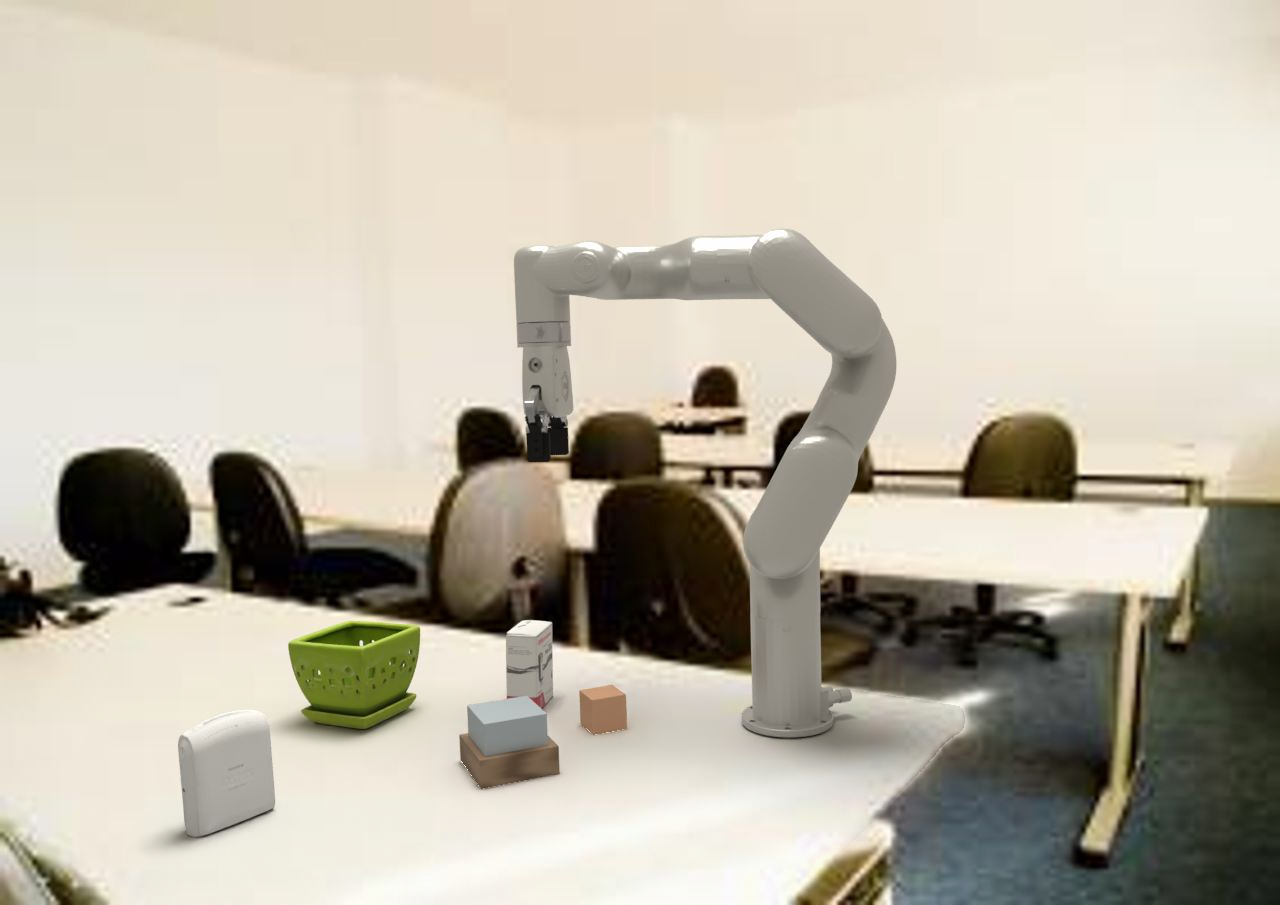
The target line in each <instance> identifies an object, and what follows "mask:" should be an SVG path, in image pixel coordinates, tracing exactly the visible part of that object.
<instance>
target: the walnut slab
mask: <svg viewBox="0 0 1280 905" xmlns="http://www.w3.org/2000/svg"><path fill="white" fill-rule="evenodd" d="M559 748H560V747H559V745H558V744H557V743H556V742H555V741H554V740H553V739H552V737H550V736H549V735H548V745H546V746H540V747H535V748H529V749H524V750H518V751H513V752H507V753H502V754H496V755H490V756H485V755H484V754H483V753H482V752H481V751H480V749H479V748H478V747H477V746H476V744H475V743H474V742H473V741H472V739H471V738H470V737H469V736H468V732H466V733H461V734H459V756H460V757H459V759H460V762H461V761H462V762H463V764H464V765H465V766H466V768H467V769H468V771H469V772H470V773H469V772H468V771H467V772H468V773H469V775H470V774H471V775H472V776H471V775H470V776H471V777H472V779H473V778H474V779H475V780H474V779H473V780H474V781H476V782H477V783H478V784H477V783H476V782H475V783H476V784H477V785H479V786H478V787H479V788H480V790H484V789H483V788H485V789H489V788H488V787H490V788H495V787H499V786H498V785H500V786H504V785H503V784H505V785H509V784H508V783H511V784H515V783H514V782H516V783H520V782H519V781H521V782H525V781H524V780H526V781H530V779H531V780H535V779H541V778H546V777H549V776H556V775H560V774H561V772H560V770H561V768H560V749H559ZM463 764H462V765H463ZM464 765H463V766H464ZM466 768H465V769H466ZM467 769H466V770H467ZM494 786H495V787H494Z"/></svg>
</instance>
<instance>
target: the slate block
mask: <svg viewBox="0 0 1280 905" xmlns="http://www.w3.org/2000/svg"><path fill="white" fill-rule="evenodd" d="M466 709H467V710H466V713H467V715H466V716H467V733H468V736H469V737H470V738H471V739H472V741H473V742H474V743H475V744H476V746H477V747H478V748H479V749H480V751H481V752H482V753H483V754H484V755H485V756H490V755H496V754H502V753H507V752H513V751H518V750H524V749H529V748H535V747H540V746H546V745H548V736H549V734H548V715H547V714H548V713H547V712H545V711H544V710H543V708H542V709H541V708H540V707H539V706H538V705H537V704H536V703H535V702H533V701H532V700H531V699H530V698H529V697H528V696H522V697H516V698H509V699H507V698H503V699H498V700H492V701H485V702H479V703H472V704H467V707H466Z"/></svg>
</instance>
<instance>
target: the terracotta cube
mask: <svg viewBox="0 0 1280 905" xmlns="http://www.w3.org/2000/svg"><path fill="white" fill-rule="evenodd" d="M578 692H579V694H578V695H579V716H580V725H581V724H582V725H583V726H584V727H585V728H587V729H588V730H589V731H590V732H591V733H592V734H593V735H592V734H591V733H590V732H589V731H588V730H587V729H586V730H587V731H588V732H589V733H590V734H591V735H592V736H596V735H595V734H599V735H603V734H602V733H604V734H607V733H606V732H610V733H613V732H612V731H615V732H618V731H617V730H621V731H623V730H622V729H626V728H627V729H628V716H627V715H628V714H627V713H628V712H627V711H628V710H627V694H626V693H625V692H624V691H622V690H621V689H619V688H618V687H616V686H615V685H613V684H610V685H609V684H608V685H604V686H603V685H602V686H597V687H596V686H595V687H591V688H585V689H579V690H578ZM582 725H581V726H582ZM583 726H582V727H583ZM584 727H583V728H584ZM585 728H584V729H585ZM627 729H626V730H627Z"/></svg>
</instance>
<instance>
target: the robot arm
mask: <svg viewBox="0 0 1280 905" xmlns="http://www.w3.org/2000/svg"><path fill="white" fill-rule="evenodd" d="M513 256H514V257H513V272H514V273H513V275H514V279H513V280H514V297H515V298H514V300H515V318H516V319H515V320H516V324H515V325H516V344H517V348H522V360H521V361H522V362H521V363H522V367H521V370H522V372H521V374H522V375H521V378H522V379H521V382H522V387H521V388H522V390H521V391H522V392H521V393H522V407H523V408H522V409H523V413H524V415H525V417H524V419H525V420H524V421H525V422H526V423H525V433H526V434H525V437H526V438H525V440H526V460H527V462H528V463H549V462H551V460H552V456H567V455H569V454H570V447H569V446H570V445H569V444H570V442H569V426H568V425H569V421H568V420H569V419H568V417H567V416H570V415H571V414H572V413H573V412H574V397H573V385H572V371H571V364H570V355H569V349H568V347H571V346H572V333H571V331H572V330H571V308H570V307H571V305H570V303H571V302H570V300H571V299H570V296H580V297H586V298H590V299H591V298H593V299H598V300H603V301H604V300H605V301H606V300H607V301H609V300H610V301H614V300H615V301H620V300H621V301H622V300H665V299H666V300H681V301H707V300H708V301H713V300H717V301H718V300H720V301H721V300H771V301H772V302H773V303H774V304H776V306H778V308H780V310H782V311H783V312H784V313H785V314H786V315H787V316H788V317H789V318H791V319H792V320H793V322H795V323H796V324H797V325H798V326H799V327H800V328H801V329H803V330H804V331H805V332H806V333H807V334H808V335H809V336H810V337H811V338H812V339H813V340H814V341H816V342H817V343H818V344H819V346H820V347H822V348H823V349H824V350H825V351H827V353H830V354H831V370H830V373H829V375H828V378H827V379H826V382H825V383H824V386H822V389H821V391H820V393H819V395H818V398H817V400H816V402H815V404H814V405H813V407H812V410H811V411H810V414H809V415H808V416H807V419H806V420H805V422H804V423H803V426H802V428H800V431H799V432H798V433H797V435H796V436H795V437H793V439H792V441H790V444H789V445H788V446H787V448H786V450H785V452H784V454H783V456H782V457H781V459H780V461H779V463H778V465H777V467H776V470H775V471H774V473H773V475H772V477H771V479H770V481H769V483H768V484H767V485H766V486H767V487H766V488H765V490H764V492H763V494H762V496H761V498H760V500H759V502H758V503H757V505H756V508H755V509H754V510H753V511H752V513H751V515H750V517H749V519H748V522H747V524H746V526H745V528H744V531H743V540H742V545H743V546H742V547H743V551H744V554H745V557H746V559H747V561H748V563H749V598H750V599H749V601H750V602H749V604H750V614H749V615H750V619H749V620H750V653H751V654H750V655H751V657H750V658H751V661H750V662H751V693H752V694H751V697H752V698H751V700H752V701H751V702H752V705H751V704H750V705H749V706H748V707H746V708H744V710H743V711H742V712H741V723H742V725H743V726H744V727H745V728H746V729H747V730H749V731H751V732H754V733H756V734H759V735H763V736H767V737H774V738H789V739H790V738H804V737H810V736H811V737H812V736H815V735H819V734H822V733H824V732H826V731H828V730H830V729H831V728H832V726H833V724H834V714H833V712H832V711H831V710H830V708H831V707H832V708H833V706H834V705H835V704H842V703H843V704H844V703H849V702H851V701H852V700H853V694H852V691H851V689H850V688H848V687H845V688H844V687H843V688H839V689H838V688H837V689H835V690H834V688H833V687H832V685H829V686H824V687H823V686H822V645H821V644H822V642H821V569H820V568H821V547H822V545H823V543H824V542H825V540H826V538H827V536H828V534H829V532H830V531H831V529H832V527H833V525H834V524H835V522H836V519H837V517H838V516H839V514H840V513H841V511H842V509H843V507H844V505H845V503H846V501H847V500H848V498H849V496H850V494H851V491H853V488H854V485H855V483H856V480H857V476H858V471H859V470H858V469H859V461H860V459H861V456H862V455H863V452H864V450H865V448H866V446H867V444H868V442H869V441H870V438H871V437H872V435H873V433H874V431H875V429H876V427H877V424H878V423H879V421H880V418H881V416H882V414H883V412H884V410H885V408H886V405H887V404H888V401H889V399H890V397H891V394H892V393H893V389H894V385H895V381H896V376H897V354H896V346H895V343H894V339H893V336H892V334H891V332H890V330H889V328H888V325H887V324H886V322H885V321H884V319H883V318H882V317H883V316H882V313H881V311H880V308H879V306H878V305H877V303H876V302H875V300H874V299H873V298H872V297H871V296H870V295H869V294H868V293H867V292H865V291H864V290H863V289H862V288H861V287H860V286H859V285H858V284H857V283H856V282H854V281H853V279H851V278H850V277H849V276H847V275H846V274H845V273H844V272H843V271H842V270H841V269H840V268H838V266H836V265H835V264H834V263H833V262H832V261H830V259H829V258H827V257H826V256H825V255H824V254H823V253H822V252H821V251H820V250H819V249H818V248H817V247H816V246H815V245H814V244H813V243H812V242H811V241H810V240H809V239H808V238H807V237H806V236H804V234H802V233H801V232H798V231H796V230H794V229H790V228H776V229H772V230H769V231H766V232H765V233H764V234H747V235H697V236H695V235H694V236H691V237H687V238H683V239H682V240H680V241H678V242H675V243H671V244H666V245H656V246H637V247H635V246H632V247H631V246H630V247H628V246H627V247H618V246H617V247H613V246H610V245H607V244H605V243H602V242H600V241H596V240H584V241H583V240H582V241H579V242H573V243H568V244H564V245H558V246H553V245H533V246H532V245H531V246H526V247H521V248H519V249H517V250H516V251H515V253H514V255H513Z"/></svg>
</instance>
